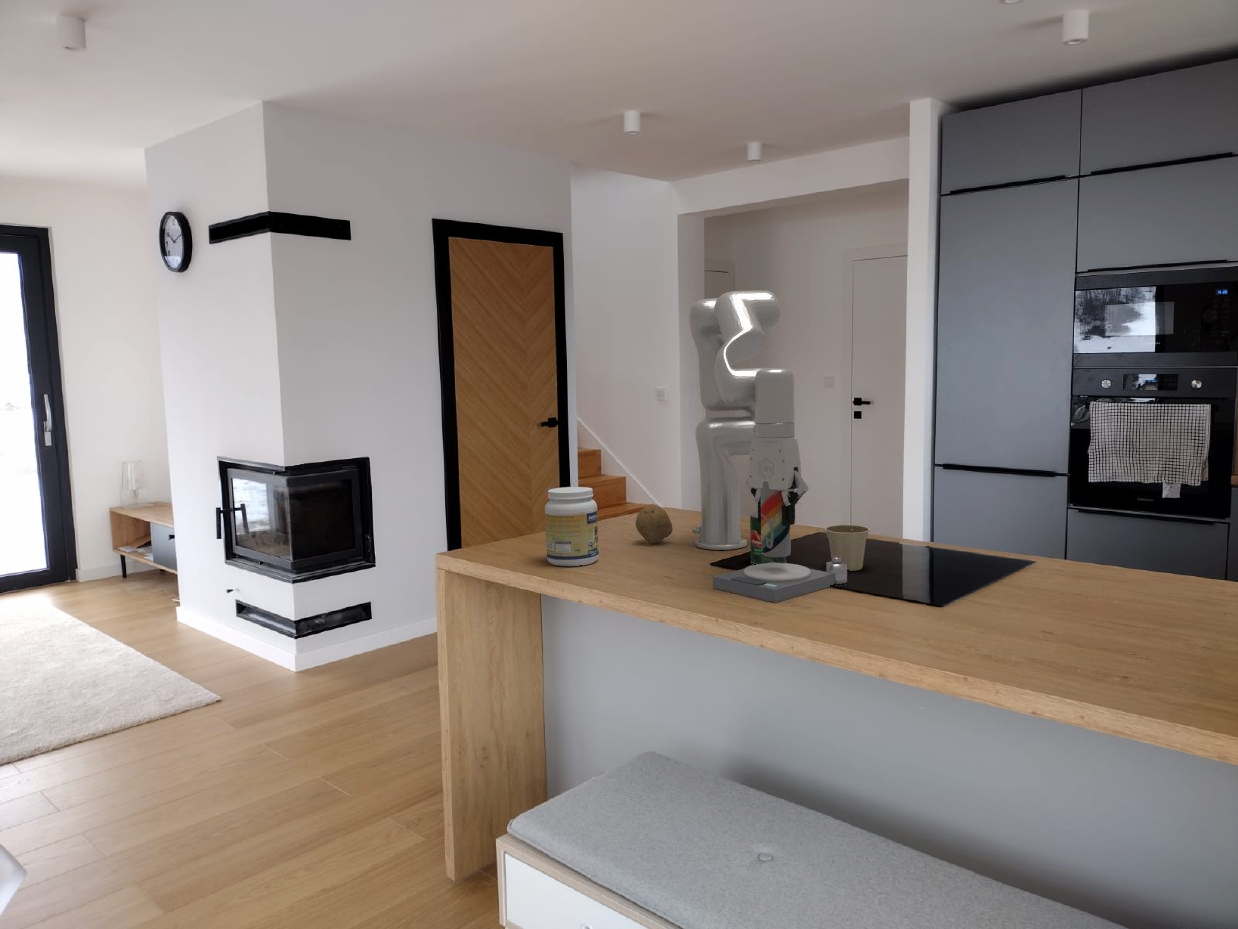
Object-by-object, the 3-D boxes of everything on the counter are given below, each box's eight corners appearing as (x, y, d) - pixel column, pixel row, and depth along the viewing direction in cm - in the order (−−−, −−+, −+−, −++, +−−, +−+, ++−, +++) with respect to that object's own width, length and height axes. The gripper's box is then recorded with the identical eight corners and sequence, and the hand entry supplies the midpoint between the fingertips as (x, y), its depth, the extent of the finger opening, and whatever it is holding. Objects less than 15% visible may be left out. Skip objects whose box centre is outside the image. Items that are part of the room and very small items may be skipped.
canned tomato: (784, 558, 200) (784, 510, 199) (787, 566, 193) (787, 516, 192) (749, 559, 201) (748, 511, 200) (751, 566, 194) (750, 517, 192)
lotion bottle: (757, 556, 174) (755, 456, 172) (767, 551, 179) (764, 453, 177) (785, 558, 172) (783, 456, 169) (794, 552, 176) (792, 453, 174)
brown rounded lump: (631, 541, 226) (629, 503, 225) (663, 538, 229) (662, 500, 228) (642, 548, 218) (641, 508, 216) (676, 544, 220) (675, 505, 219)
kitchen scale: (713, 588, 176) (712, 572, 175) (772, 572, 187) (771, 558, 187) (775, 602, 164) (775, 586, 163) (834, 585, 175) (834, 569, 175)
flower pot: (859, 575, 183) (859, 534, 182) (817, 570, 188) (817, 530, 187) (876, 566, 190) (876, 526, 189) (835, 561, 196) (835, 523, 195)
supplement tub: (598, 567, 198) (595, 492, 196) (544, 568, 199) (541, 493, 197) (600, 555, 210) (597, 485, 209) (549, 556, 211) (546, 486, 209)
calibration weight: (822, 583, 177) (822, 557, 177) (834, 579, 180) (834, 554, 179) (838, 586, 174) (838, 560, 174) (851, 582, 177) (850, 557, 176)
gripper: (729, 431, 177) (731, 521, 179) (797, 434, 164) (798, 530, 166) (754, 429, 182) (755, 516, 184) (822, 431, 169) (823, 525, 170)
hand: (776, 522), depth 175 cm, fingers closed on lotion bottle, 5 cm apart
